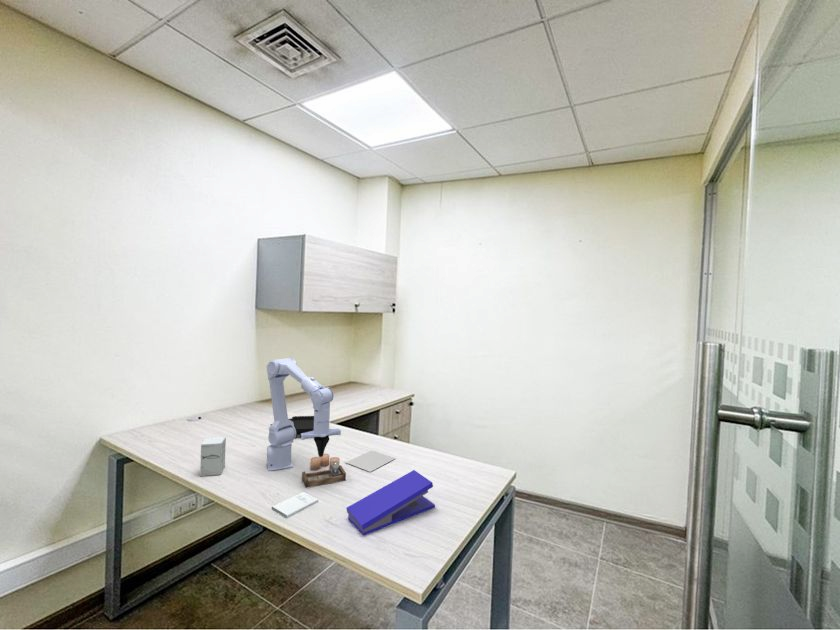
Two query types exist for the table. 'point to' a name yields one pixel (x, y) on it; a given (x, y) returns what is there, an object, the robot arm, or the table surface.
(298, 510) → the external hard drive
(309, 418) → the tray
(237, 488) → the table surface
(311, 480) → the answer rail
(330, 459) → the peach domed cylinder
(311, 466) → the peach domed capsule
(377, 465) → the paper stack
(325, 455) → the peach rounded cylinder
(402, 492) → the stapler
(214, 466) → the supplement box
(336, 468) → the slider
